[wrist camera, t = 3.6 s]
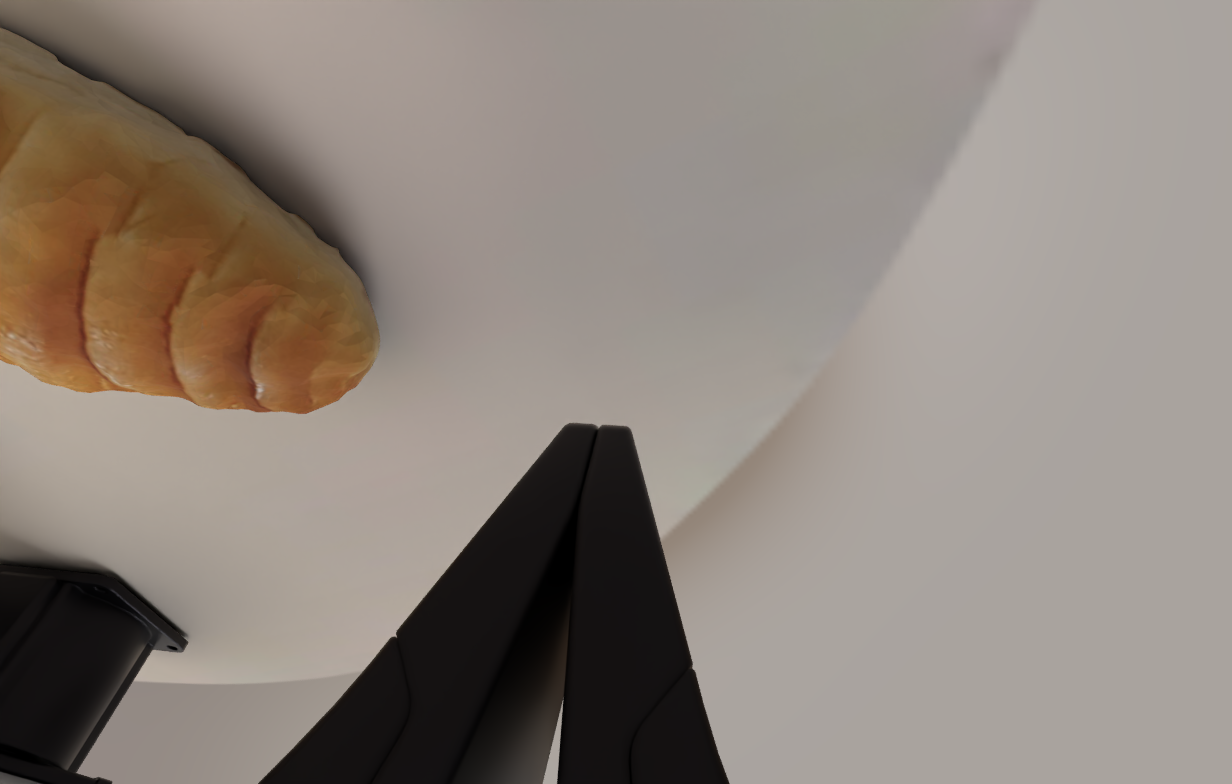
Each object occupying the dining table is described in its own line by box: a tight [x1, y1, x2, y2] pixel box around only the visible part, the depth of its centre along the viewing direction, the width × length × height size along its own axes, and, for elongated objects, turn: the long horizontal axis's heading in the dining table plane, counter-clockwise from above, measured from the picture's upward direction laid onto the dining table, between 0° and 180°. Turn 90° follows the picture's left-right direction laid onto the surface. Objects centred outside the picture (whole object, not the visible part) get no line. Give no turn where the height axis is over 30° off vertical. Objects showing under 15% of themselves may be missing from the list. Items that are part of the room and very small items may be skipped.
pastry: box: [0, 28, 380, 414], centre depth 13 cm, size 9×7×4 cm
